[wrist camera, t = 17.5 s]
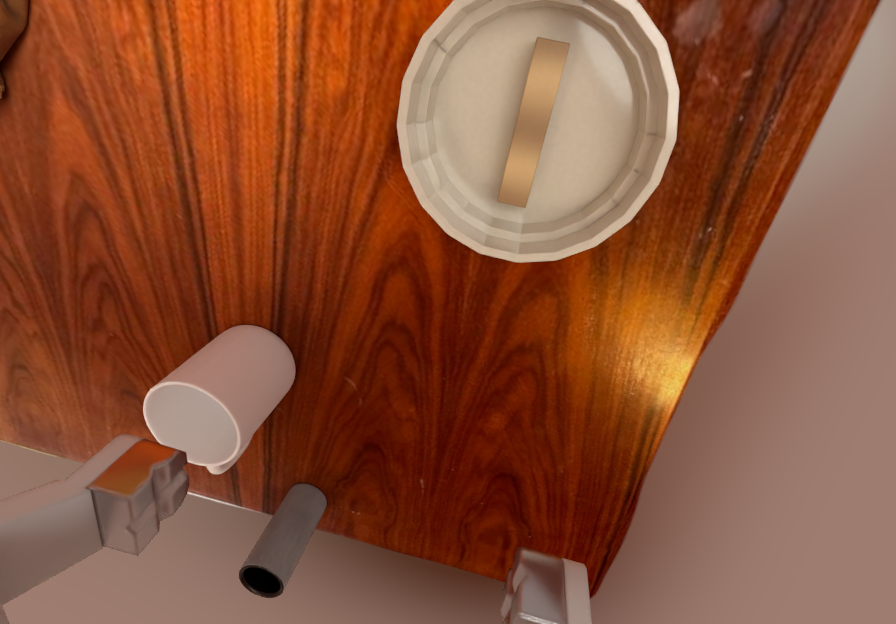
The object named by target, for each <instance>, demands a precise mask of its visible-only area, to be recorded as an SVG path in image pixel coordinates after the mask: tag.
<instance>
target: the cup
mask: <svg viewBox="0 0 896 624" xmlns="http://www.w3.org/2000/svg"><path fill="white" fill-rule="evenodd" d="M295 372H296V368H295V362H294V358H293V356H292V353H291V351H290V350H289V348H288V347H287V345H286V344H285V343H284V342H283V341H282V340H281V339H280V338H279V337H278V336H277V335H275V334H274V333H272V332H271V331H269V330H267V329H264V328H262V327H258V326H254V325H239V326H235V327H232V328H230V329H228V330H226V331H224V332H223V333H221V334H220V335H219V336H217V337H216V338H215V339H214V340H212V341H211V342H210V343H208V344H207V345H206V346H205V347H203V348H202V349H201V350H200V351H198V352H197V353H196V354H195V355H193V356H192V357H191V358H189V359H188V360H187V361H186V362H184V363H183V364H182V365H181V366H179V367H178V368H177V369H175V370H174V371H173V372H172V373H170V374H169V375H168V376H167V377H165V378H164V379H163V380H162V381H160V382H159V383H158V384H156V385H155V386H154V387H153V388H152V389H151V390H150V391H149V392H148V393H147V395H146V397H145V400H144V404H143V413H144V417H145V421H146V423H147V426H148V428H149V429H150V431H151V433H152V434H153V436H154V437H155V438H156V439H157V441H158V442H159V443H160V444H162V445H166V446H169V447H172V448H175V449H178V450H181V451H184V452H186V454H187V462H190V463H193V464H197V465H201V466H206V467H207V469H208V471H209V472H210V473H212V474H221V473H223V472H225V471H226V470H228V469H229V468H230V467H231V466H232V465H233V464H234V463H235V462H236V461H237V460H238V459H239V457H240V456H241V455H242V454H243V452H244V451H245V449H246V448H247V446H248V445H249V443H250V441H251V439H252V436H253V434H254V433H255V431H256V430H257V429H258V428H259V427H260V425H261V424H262V423H263V422H264V420H265V419H266V418H267V417H268V416H269V414H270V413H271V412H272V411H273V409H274V408H275V407H276V406H277V405H278V403H279V402H280V401H281V400H282V398H283V397H284V396H285V395H286V393H287V392H288V391H289V389H290V388H291V386H292V384H293V382H294V379H295Z"/></svg>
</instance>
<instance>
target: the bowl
mask: <svg viewBox="0 0 896 624" xmlns="http://www.w3.org/2000/svg"><path fill="white" fill-rule="evenodd" d="M537 37H541V38H546V39H551V40H555V41H560V42H565V43H569V44H570V47H569V51H568V55H567V58H566V62H565V66H564V69H563V73H562V77H561V80H560V84H559V88H558V91H557V95H556V99H555V102H554V106H553V110H552V113H551V117H550V121H549V124H548V128H547V132H546V135H545V139H544V143H543V146H542V150H541V153H540V157H539V161H538V164H537V168H536V172H535V175H534V179H533V183H532V186H531V190H530V194H529V197H528V201H527V205H526V208H522V207H518V206H514V205H510V204H506V203H501V202H498V201H497V199H498V195H499V191H500V187H501V183H502V179H503V175H504V171H505V166H506V162H507V158H508V154H509V150H510V146H511V142H512V138H513V134H514V130H515V126H516V121H517V117H518V113H519V109H520V105H521V101H522V97H523V93H524V89H525V85H526V80H527V76H528V72H529V68H530V64H531V60H532V56H533V52H534V48H535V44H536V39H537ZM679 93H680V91H679V86H678V82H677V79H676V75H675V71H674V67H673V63H672V59H671V56H670V52H669V48H668V44H667V43H666V40H665V39H664V37H663V36H662V34H661V33H660V31H659V30H658V29H657V27H656V26H655V24H654V23H653V21H652V20H651V19H650V17H649V16H648V14H647V13H646V11H645V10H644V9H643V7H642V6H641V4H640V3H639V2H638V1H637V0H453V1H452V2H451V3H450V5H449V6H448V7H447V8H446V9H445V10H444V11H443V13H442V14H441V15H440V16H439V17H438V18H437V19H436V21H435V22H434V23H433V24H432V25H431V26H430V27H429V28H428V30H427V31H426V32H425V33H424V34H423V36H422V37H421V39H420V42H419V44H418V46H417V48H416V50H415V53H414V55H413V57H412V59H411V62H410V64H409V66H408V68H407V71H406V73H405V75H404V77H403V81H402V87H401V94H400V102H399V109H398V117H397V132H398V139H399V145H400V152H401V158H402V165H403V167H404V171H405V173H406V175H407V177H408V179H409V181H410V184H411V186H412V188H413V190H414V192H415V194H416V196H417V198H418V200H419V203H420V204H421V206H422V207H423V208H424V209H425V210H426V211H427V212H428V214H429V215H430V216H431V217H432V218H433V219H434V220H435V221H436V222H437V224H438V225H439V226H440V227H441V228H442V229H443V230H444V231H445V232H446V233H447V234H448V235H449V236H451V237H453V238H454V239H456V240H458V241H459V242H461V243H463V244H464V245H466V246H468V247H469V248H471V249H473V250H474V251H476V252H478V253H480V254H484V255H488V256H492V257H496V258H500V259H504V260H508V261H512V262H518V263H521V262H539V261H556V260H560V259H562V258H565V257H568V256H571V255H573V254H576V253H579V252H582V251H584V250H587V249H590V248H593V247H595V246H597V245H598V244H600V243H601V242H603V241H604V240H605V239H607V238H608V237H609V236H611V235H612V234H614V233H615V232H616V231H618V230H619V229H620V228H622V227H623V226H624V225H626V224H627V223H629V222H630V220H632V219H633V217H634V216H635V215H636V213H637V212H638V211H639V210H640V208H641V207H642V206H643V204H644V203H645V202H646V201H647V199H648V198H649V197H650V195H651V194H652V193H653V191H654V190H655V189H656V188H657V186H658V184H659V183H660V181H661V178H662V175H663V173H664V170H665V168H666V165H667V163H668V160H669V157H670V155H671V152H672V150H673V147H674V144H675V142H676V137H677V122H678V108H679Z"/></svg>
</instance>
